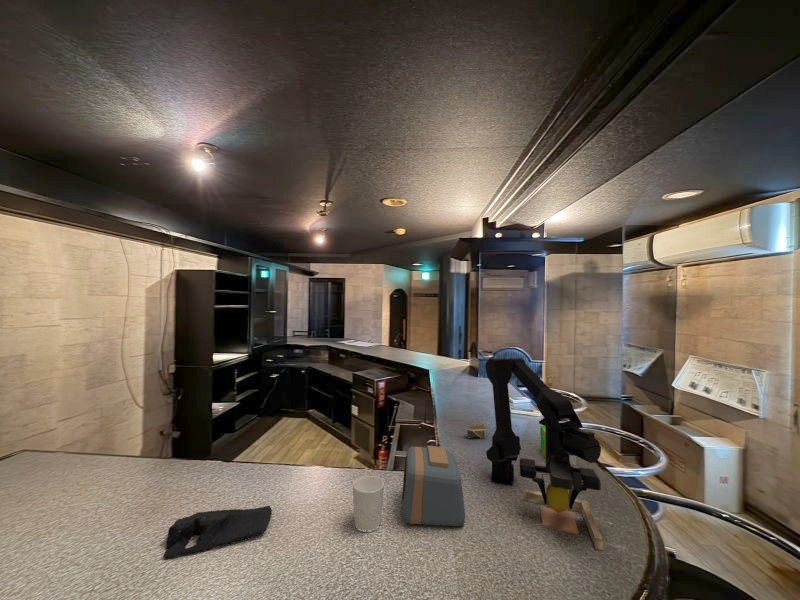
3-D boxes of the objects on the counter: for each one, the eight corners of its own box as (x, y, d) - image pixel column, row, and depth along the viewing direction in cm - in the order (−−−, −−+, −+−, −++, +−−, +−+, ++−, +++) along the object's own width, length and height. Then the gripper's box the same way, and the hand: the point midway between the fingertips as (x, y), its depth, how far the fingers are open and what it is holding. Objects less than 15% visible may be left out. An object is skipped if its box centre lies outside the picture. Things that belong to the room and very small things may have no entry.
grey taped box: (403, 491, 94) (404, 438, 95) (456, 493, 94) (457, 439, 95) (401, 528, 78) (402, 463, 79) (466, 530, 77) (467, 465, 78)
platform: (502, 443, 132) (502, 428, 133) (462, 446, 129) (462, 430, 129) (488, 433, 144) (488, 418, 144) (452, 435, 141) (452, 420, 141)
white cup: (358, 538, 74) (359, 495, 74) (348, 519, 81) (349, 479, 81) (388, 528, 78) (388, 487, 78) (375, 510, 85) (376, 473, 85)
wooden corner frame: (529, 533, 77) (529, 523, 77) (525, 498, 92) (525, 489, 92) (603, 550, 71) (602, 539, 71) (586, 510, 86) (586, 500, 87)
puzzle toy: (576, 465, 113) (576, 437, 114) (547, 461, 115) (547, 434, 116) (567, 453, 123) (567, 427, 124) (540, 450, 125) (540, 425, 126)
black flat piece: (265, 546, 71) (266, 525, 72) (154, 564, 66) (155, 541, 66) (274, 507, 86) (275, 489, 86) (184, 519, 81) (185, 500, 81)
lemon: (545, 504, 85) (545, 474, 86) (568, 509, 83) (568, 478, 84) (546, 515, 80) (546, 484, 81) (571, 521, 78) (570, 489, 79)
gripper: (521, 452, 78) (521, 516, 77) (606, 465, 72) (607, 535, 71) (519, 436, 89) (519, 492, 88) (594, 447, 82) (595, 507, 82)
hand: (557, 506), depth 82 cm, fingers closed on lemon, 5 cm apart
